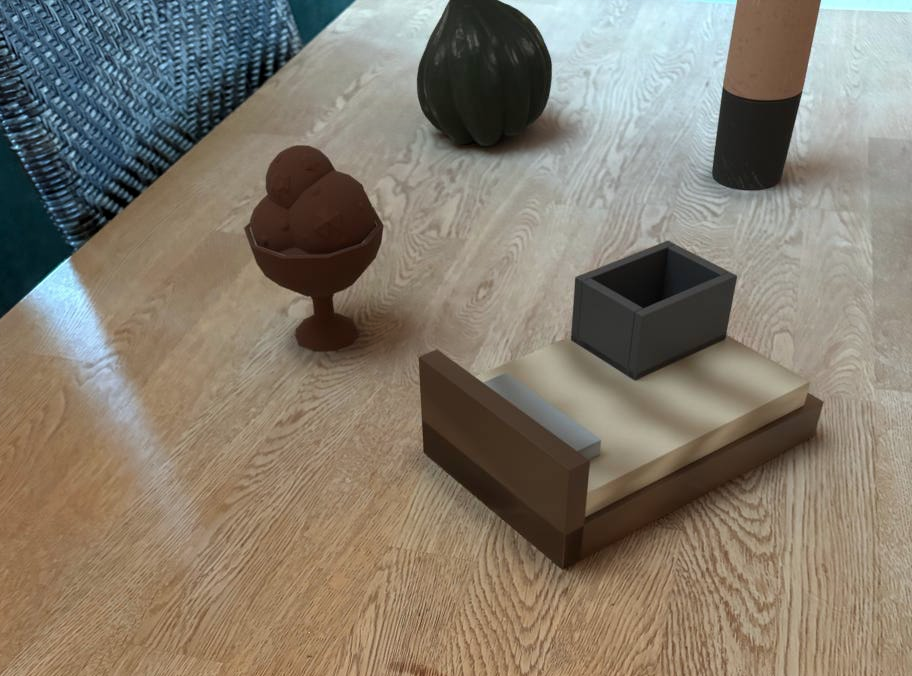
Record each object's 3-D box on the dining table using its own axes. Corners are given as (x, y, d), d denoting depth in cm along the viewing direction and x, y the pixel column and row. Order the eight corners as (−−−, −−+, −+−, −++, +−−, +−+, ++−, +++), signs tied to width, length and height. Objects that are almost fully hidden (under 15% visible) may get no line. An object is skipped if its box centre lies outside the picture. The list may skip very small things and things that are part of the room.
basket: (659, 302, 79) (668, 240, 76) (725, 339, 75) (738, 275, 72) (570, 340, 76) (574, 276, 72) (634, 381, 72) (642, 316, 68)
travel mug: (707, 160, 109) (741, -61, 95) (780, 161, 108) (826, -62, 94) (710, 190, 104) (747, -39, 90) (787, 192, 103) (837, -39, 89)
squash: (594, 90, 110) (537, -50, 107) (482, 130, 105) (419, -16, 102) (532, 149, 123) (480, 26, 120) (430, 187, 118) (374, 60, 115)
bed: (662, 345, 84) (675, 252, 78) (814, 436, 75) (842, 338, 69) (423, 452, 75) (418, 356, 70) (562, 569, 66) (570, 470, 60)
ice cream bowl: (242, 358, 85) (206, 176, 74) (298, 294, 92) (273, 120, 81) (358, 378, 82) (339, 192, 72) (407, 311, 90) (397, 132, 79)
